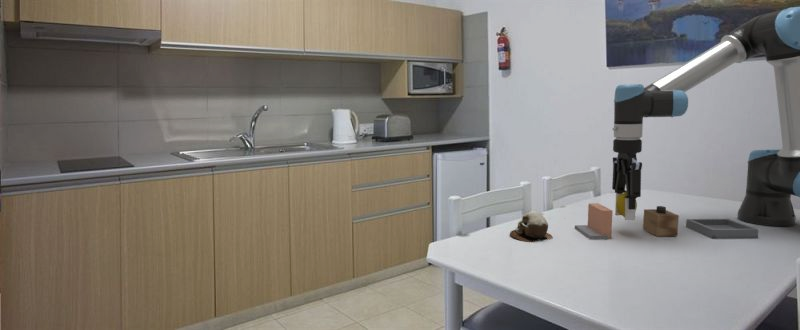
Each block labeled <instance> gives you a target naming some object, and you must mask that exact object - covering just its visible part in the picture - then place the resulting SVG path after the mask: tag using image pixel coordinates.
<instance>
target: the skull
mask: <svg viewBox="0 0 800 330" xmlns="http://www.w3.org/2000/svg"><path fill="white" fill-rule="evenodd" d="M548 229H549V222H548V221H547V219H546V218H545V217H544V215H542V213H540V212H539V211H535V210H531V211H528V212H525V213H524V214H523V216H522V218H521V220H519V221H518V222H517V227H515V229H513V230H511V231H510V232H509V234H510V236H511V237H512V238H514V239H517V240H518V241H521V242H529V243H536V242H538V241H545V240H546V241H547V240H552V239H553V238H554V236H552V234H550V233H548Z"/></svg>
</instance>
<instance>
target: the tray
mask: <svg viewBox="0 0 800 330" xmlns="http://www.w3.org/2000/svg"><path fill="white" fill-rule="evenodd" d="M685 221H686V222H685V227H686V228H687V229H690V230H691V231H694V232H697V233H699V234H700V235H703V236H705V237H706V238H707V237H708V238H710V239H713V240H715V239H716V240H717V239H758V238H759V229H758V228H755V227H753V226H751V225H747V224H746V223H745V224H744V223H741V222H739V221H736V220H734V219H730V218H686V219H685Z"/></svg>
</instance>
